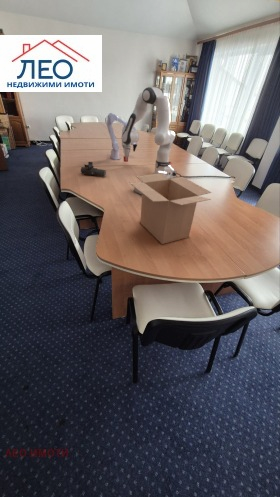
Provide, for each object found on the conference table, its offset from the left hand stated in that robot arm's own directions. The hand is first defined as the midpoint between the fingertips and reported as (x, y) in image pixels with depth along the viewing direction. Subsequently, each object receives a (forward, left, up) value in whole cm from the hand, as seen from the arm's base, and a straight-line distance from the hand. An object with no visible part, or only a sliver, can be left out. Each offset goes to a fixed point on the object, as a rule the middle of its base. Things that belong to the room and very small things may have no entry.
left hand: (131, 151), depth 253 cm
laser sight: (+28, -70, -7) cm, 76 cm away
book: (+85, -53, -7) cm, 100 cm away
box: (+132, -89, -7) cm, 159 cm away
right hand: (+20, -25, 0) cm, 32 cm away
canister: (+20, -25, -2) cm, 32 cm away
